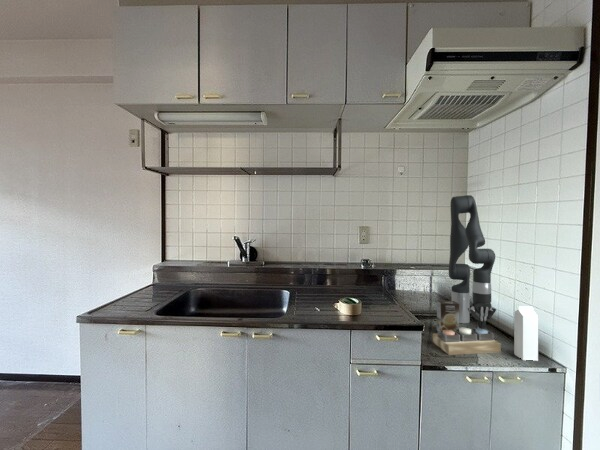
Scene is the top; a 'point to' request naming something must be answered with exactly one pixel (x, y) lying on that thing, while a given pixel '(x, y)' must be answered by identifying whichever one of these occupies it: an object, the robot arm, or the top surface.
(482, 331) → the slate blue button
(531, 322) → the milk
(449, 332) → the terracotta button
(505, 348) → the top surface
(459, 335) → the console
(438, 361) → the top surface
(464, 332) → the cream button
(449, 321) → the coffee box
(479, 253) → the robot arm
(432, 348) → the top surface
